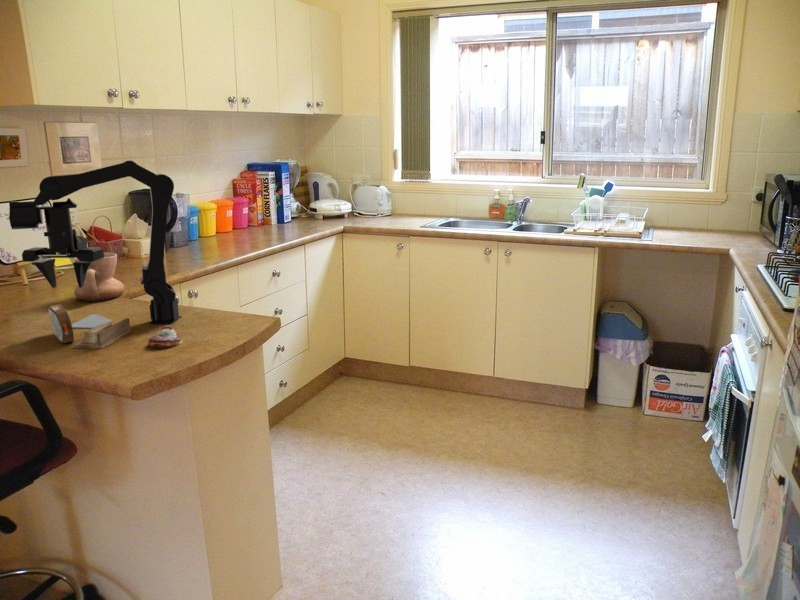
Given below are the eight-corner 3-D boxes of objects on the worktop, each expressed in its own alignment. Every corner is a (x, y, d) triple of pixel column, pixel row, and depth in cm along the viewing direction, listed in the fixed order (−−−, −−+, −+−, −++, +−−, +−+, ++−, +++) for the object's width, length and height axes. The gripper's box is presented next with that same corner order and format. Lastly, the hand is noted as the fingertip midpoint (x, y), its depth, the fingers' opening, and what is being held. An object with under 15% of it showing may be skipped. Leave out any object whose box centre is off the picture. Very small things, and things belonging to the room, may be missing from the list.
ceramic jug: (85, 294, 216) (80, 251, 212) (131, 292, 218) (126, 250, 214) (66, 307, 198) (60, 261, 195) (116, 305, 200) (111, 259, 197)
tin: (76, 345, 161) (71, 311, 159) (62, 347, 160) (57, 314, 158) (63, 331, 173) (58, 300, 171) (50, 334, 171) (45, 302, 169)
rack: (130, 332, 171) (129, 318, 171) (101, 348, 158) (99, 333, 157) (105, 331, 172) (103, 317, 171) (74, 348, 159) (72, 333, 158)
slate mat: (133, 311, 193) (133, 309, 193) (98, 328, 175) (97, 327, 175) (104, 310, 194) (104, 309, 194) (66, 328, 176) (66, 326, 176)
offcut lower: (115, 331, 170) (114, 326, 169) (93, 342, 160) (93, 338, 160) (104, 331, 170) (103, 326, 170) (82, 342, 160) (81, 337, 160)
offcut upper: (112, 327, 168) (111, 323, 168) (94, 336, 161) (94, 332, 160) (102, 327, 169) (102, 323, 168) (84, 336, 161) (84, 332, 161)
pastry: (187, 342, 163) (185, 322, 162) (175, 351, 156) (173, 331, 155) (155, 341, 164) (153, 322, 163) (142, 351, 156) (140, 330, 155)
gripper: (111, 222, 171) (118, 280, 175) (43, 223, 173) (52, 281, 177) (88, 228, 161) (96, 290, 164) (15, 228, 162) (25, 290, 166)
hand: (67, 287), depth 168 cm, fingers open, 7 cm apart
